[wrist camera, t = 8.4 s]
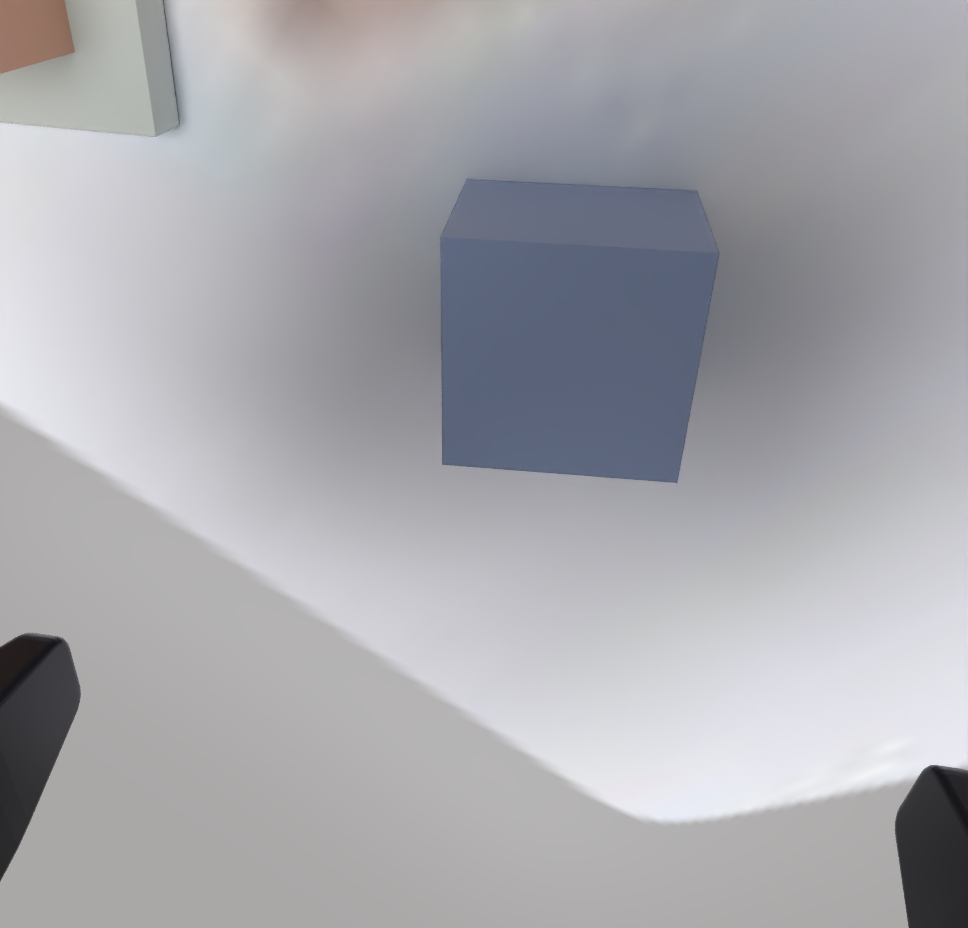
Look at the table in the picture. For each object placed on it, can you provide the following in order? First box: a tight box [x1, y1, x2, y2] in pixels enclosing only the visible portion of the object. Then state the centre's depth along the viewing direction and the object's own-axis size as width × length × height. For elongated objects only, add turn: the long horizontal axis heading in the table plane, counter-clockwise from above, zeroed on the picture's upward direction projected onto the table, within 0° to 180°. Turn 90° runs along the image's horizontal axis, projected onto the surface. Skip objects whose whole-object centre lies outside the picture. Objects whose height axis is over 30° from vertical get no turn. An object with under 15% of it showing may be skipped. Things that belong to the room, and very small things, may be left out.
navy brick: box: [441, 179, 719, 483], centre depth 18 cm, size 5×5×4 cm
